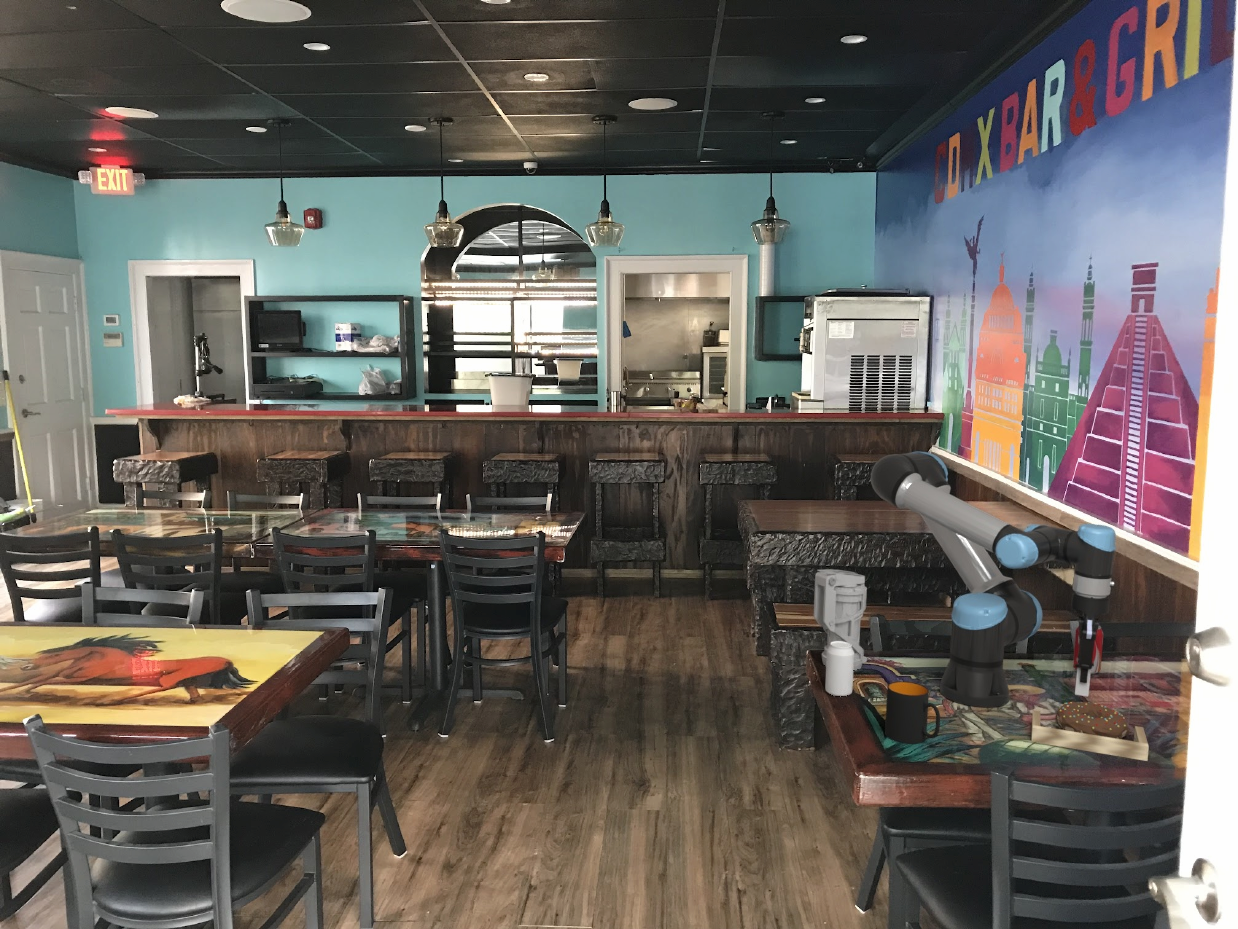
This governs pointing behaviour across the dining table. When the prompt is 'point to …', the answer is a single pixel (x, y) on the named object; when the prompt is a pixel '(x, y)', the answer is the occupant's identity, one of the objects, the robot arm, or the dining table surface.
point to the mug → (908, 713)
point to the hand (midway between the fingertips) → (1081, 694)
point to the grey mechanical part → (840, 609)
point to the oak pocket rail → (1091, 741)
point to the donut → (1092, 720)
